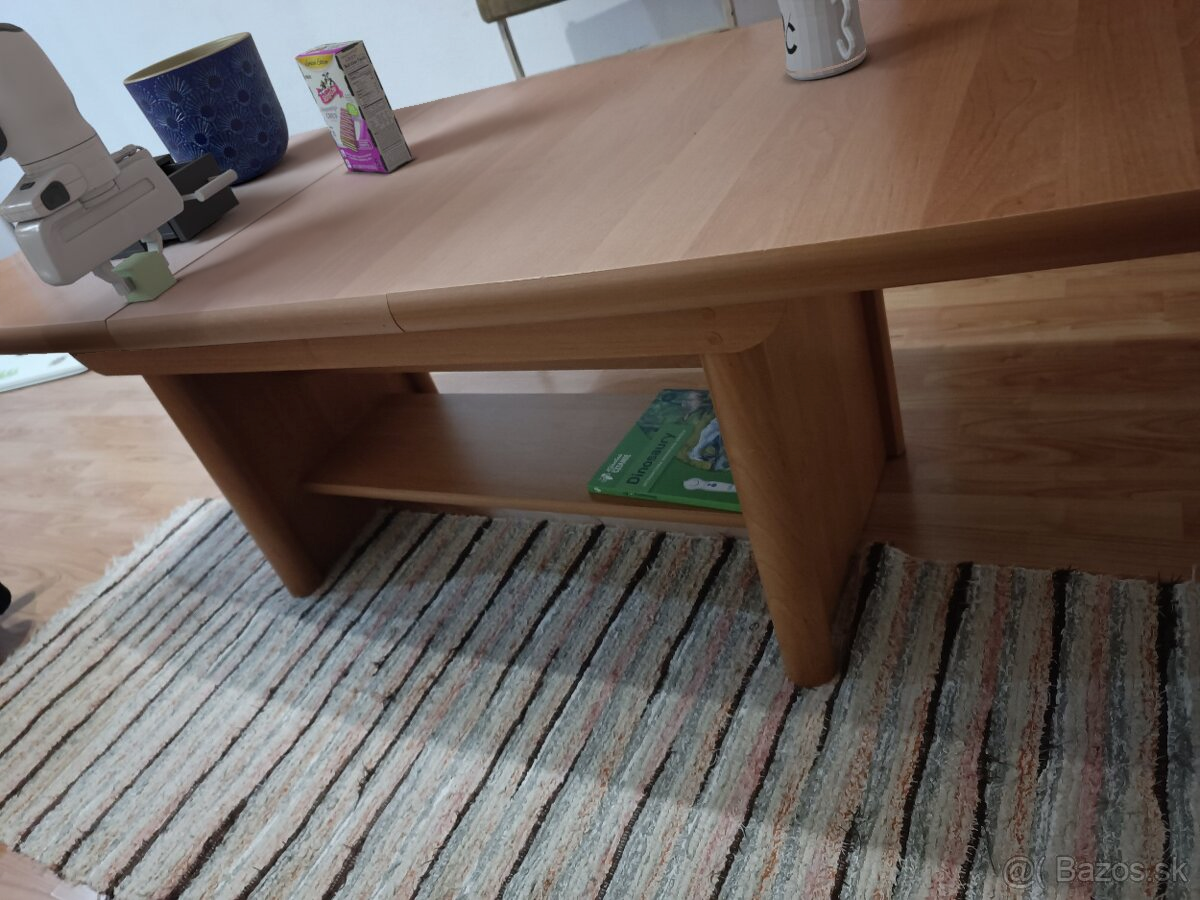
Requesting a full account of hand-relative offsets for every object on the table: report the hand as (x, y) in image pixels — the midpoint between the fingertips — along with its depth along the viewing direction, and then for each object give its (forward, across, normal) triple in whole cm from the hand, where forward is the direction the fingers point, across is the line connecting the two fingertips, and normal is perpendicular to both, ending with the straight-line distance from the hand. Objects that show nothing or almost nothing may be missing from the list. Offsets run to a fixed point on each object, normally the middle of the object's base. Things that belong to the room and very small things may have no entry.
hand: (145, 280), depth 107 cm
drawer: (+1, -19, -11) cm, 22 cm away
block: (+2, 0, 0) cm, 2 cm away
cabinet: (+2, -19, -22) cm, 29 cm away
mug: (+2, -38, +77) cm, 86 cm away
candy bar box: (+2, -33, +14) cm, 36 cm away
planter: (+2, -42, -20) cm, 47 cm away
